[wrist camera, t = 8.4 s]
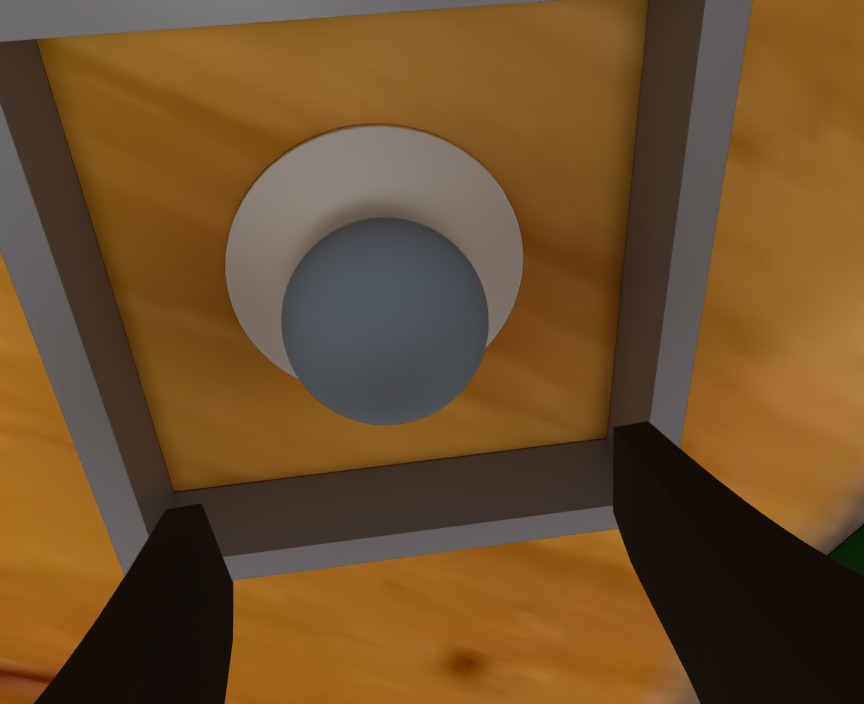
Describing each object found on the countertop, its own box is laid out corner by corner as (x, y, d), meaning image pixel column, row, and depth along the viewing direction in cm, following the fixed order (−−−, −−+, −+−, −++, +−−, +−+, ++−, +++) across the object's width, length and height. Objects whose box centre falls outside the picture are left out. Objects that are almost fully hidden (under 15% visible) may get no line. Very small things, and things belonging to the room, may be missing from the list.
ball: (458, 170, 20) (500, 257, 16) (476, 335, 23) (516, 446, 19) (262, 204, 20) (253, 301, 16) (305, 367, 22) (306, 486, 18)
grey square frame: (699, -82, 18) (763, -71, 15) (633, 458, 26) (667, 522, 24) (-38, -33, 16) (-100, -12, 14) (148, 519, 25) (131, 594, 23)
